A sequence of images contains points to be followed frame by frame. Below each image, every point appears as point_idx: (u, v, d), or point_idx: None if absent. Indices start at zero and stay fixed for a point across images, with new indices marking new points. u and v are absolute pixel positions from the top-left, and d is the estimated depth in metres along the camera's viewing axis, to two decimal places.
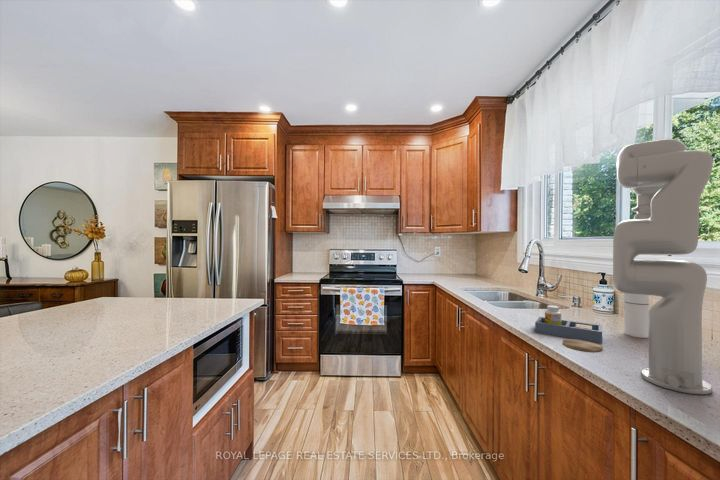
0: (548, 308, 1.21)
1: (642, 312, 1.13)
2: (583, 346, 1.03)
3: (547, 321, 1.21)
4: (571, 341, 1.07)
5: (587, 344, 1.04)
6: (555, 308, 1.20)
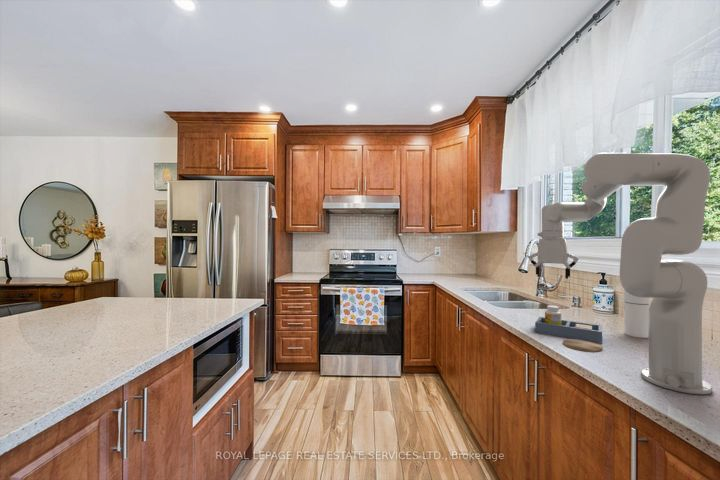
0: (548, 308, 1.21)
1: (642, 312, 1.13)
2: (583, 346, 1.03)
3: (547, 321, 1.21)
4: (571, 341, 1.07)
5: (587, 344, 1.04)
6: (555, 308, 1.20)
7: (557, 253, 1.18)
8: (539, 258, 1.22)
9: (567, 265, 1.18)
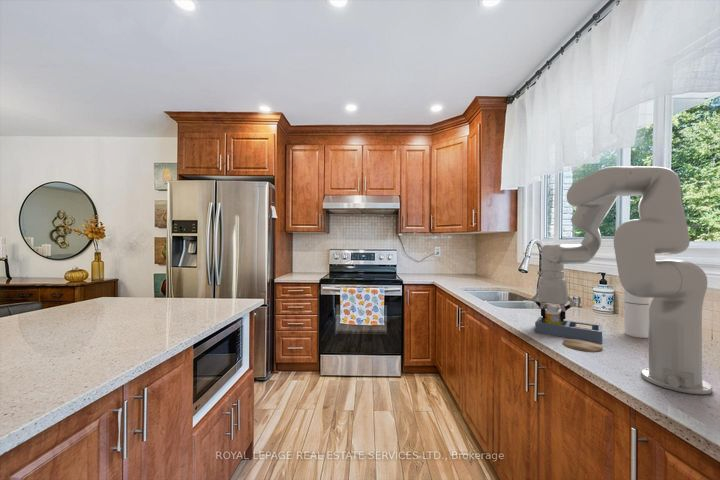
0: (548, 308, 1.21)
1: (642, 312, 1.13)
2: (583, 346, 1.03)
3: (547, 321, 1.21)
4: (571, 341, 1.07)
5: (587, 344, 1.04)
6: (555, 308, 1.20)
7: (557, 294, 1.18)
8: (539, 297, 1.22)
9: (563, 308, 1.18)
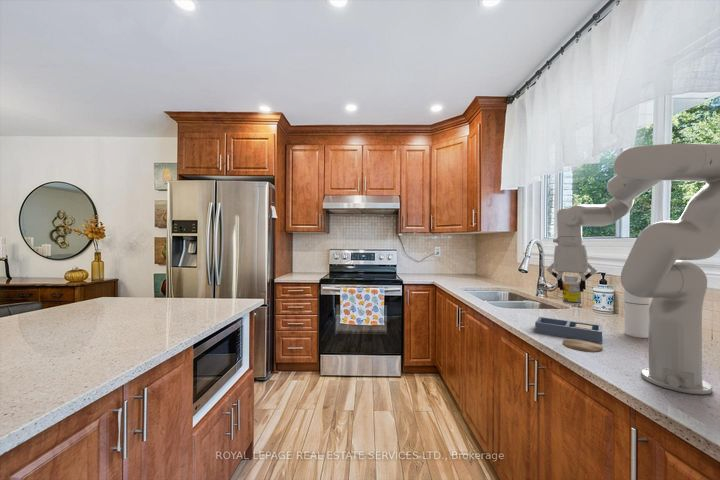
0: (566, 278, 1.10)
1: (642, 312, 1.13)
2: (583, 346, 1.03)
3: (565, 292, 1.09)
4: (571, 341, 1.07)
5: (587, 344, 1.04)
6: (574, 277, 1.08)
7: (576, 261, 1.07)
8: (556, 267, 1.11)
9: (583, 276, 1.07)
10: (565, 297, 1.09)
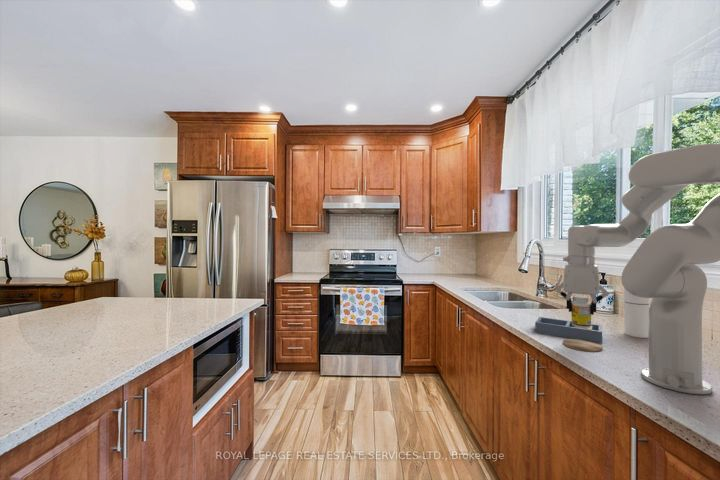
0: (575, 299, 1.04)
1: (642, 312, 1.13)
2: (583, 346, 1.03)
3: (574, 314, 1.04)
4: (571, 341, 1.07)
5: (587, 344, 1.04)
6: (584, 299, 1.03)
7: (587, 283, 1.01)
8: (565, 287, 1.05)
9: (594, 299, 1.01)
10: (575, 320, 1.04)
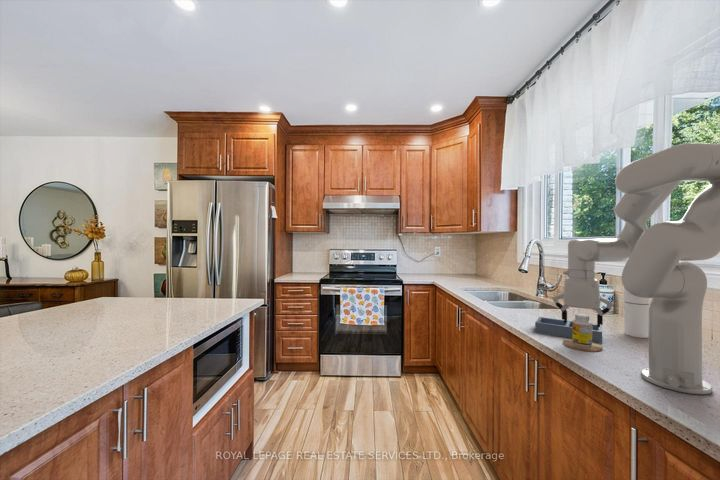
0: (576, 317, 1.04)
1: (642, 312, 1.13)
2: (583, 346, 1.03)
3: (575, 332, 1.04)
4: (571, 341, 1.07)
5: None
6: (585, 317, 1.02)
7: (588, 297, 1.01)
8: (566, 301, 1.05)
9: (599, 311, 1.00)
10: (576, 338, 1.03)
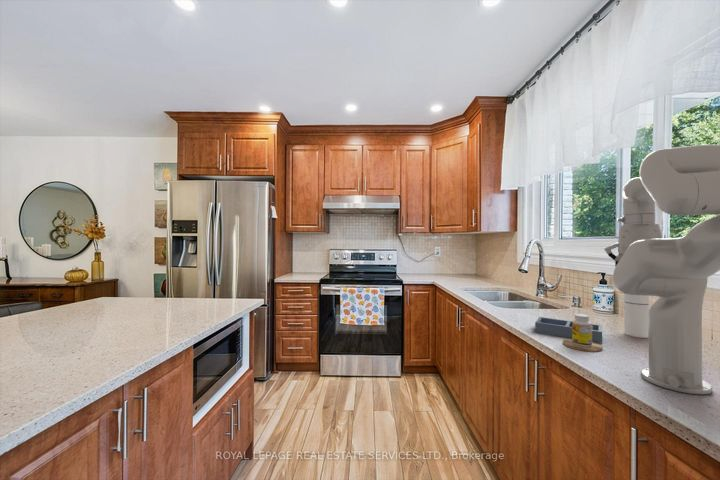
0: (576, 317, 1.04)
1: (642, 312, 1.13)
2: (583, 346, 1.03)
3: (575, 332, 1.04)
4: (571, 341, 1.07)
5: None
6: (585, 317, 1.02)
7: None
8: (623, 249, 0.96)
9: None
10: (575, 338, 1.03)
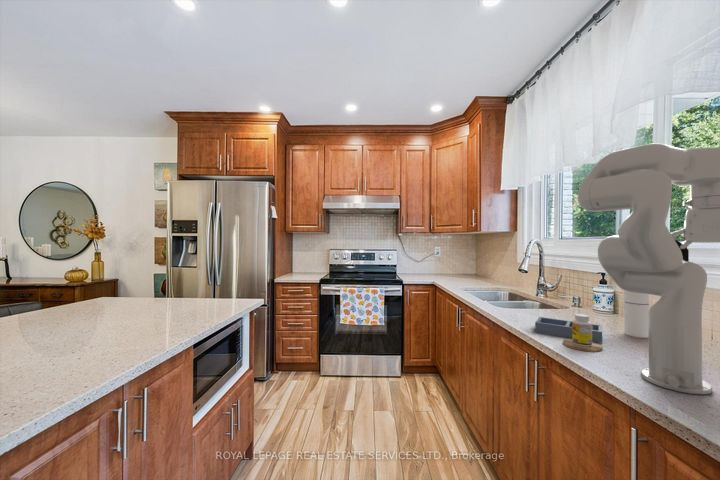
0: (576, 317, 1.04)
1: (642, 312, 1.13)
2: (583, 346, 1.03)
3: (575, 332, 1.04)
4: (571, 341, 1.07)
5: None
6: (585, 317, 1.02)
7: None
8: (690, 236, 0.87)
9: None
10: (575, 338, 1.03)
